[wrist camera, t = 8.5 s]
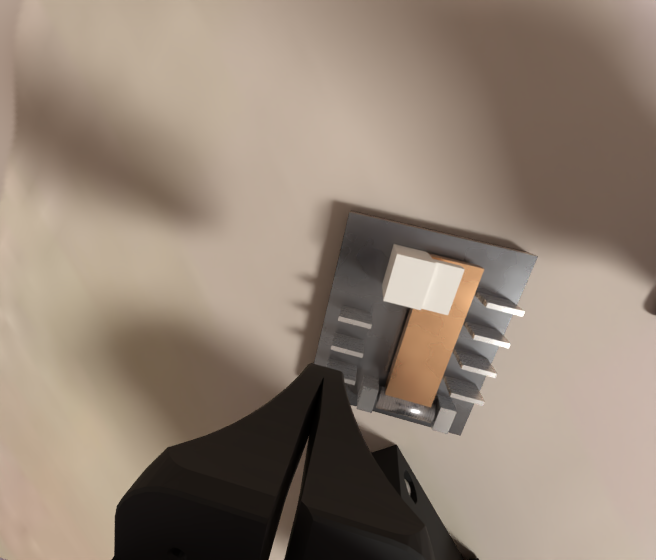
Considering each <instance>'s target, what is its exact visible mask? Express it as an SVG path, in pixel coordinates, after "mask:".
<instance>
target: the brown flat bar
mask: <svg viewBox="0 0 656 560" xmlns="http://www.w3.org/2000/svg"><path fill="white" fill-rule="evenodd" d="M428 254H429V255H430V256H431V257H432V259H436V260H440V261H444V262H448V263H452V264H456V265H460V266H462V267H463V268H464V269H465V270H464V273H463V276H462V278H461V281H460V284H459V287H458V289H457V292H456V295H455V298H454V300H453V303H452V306H451V309H450V311H449V314H448V315H444V314H441V313H437V312H433V311H429V310H425V309H421V310H417V309H413V308H410V310H409V313H408V316H407V319H406V323H405V326H404V329H403V332H402V335H401V338H400V341H399V344H398V347H397V350H396V353H395V357H394V360H393V363H392V366H391V369H390V372H389V375H388V378H387V381H386V384H385V387H382V386H380V387H379V391H378V394H377V397H376V402H375V407H376V408H379V409H382V410H386V411H389V412H393V413H396V414H400V415H404V416H407V417H411V418H414V419H418V420H421V421H425V422H429V423H431V422H432V421H433V419H434V416H435V410H436V406H435V402H434V398H435V396H436V393H437V390H438V388H439V385H440V383H441V380H442V377H443V375H444V372H445V370H446V367H447V365H448V362H449V359H450V357H451V354H452V352H453V349H454V346H455V344H456V341H457V339H458V336H459V333H460V331H461V328H462V326H463V323H464V321H465V318H466V315H467V313H468V310H469V308H470V305H471V302H472V300H473V297H474V295H475V292H476V290H477V287H478V284H479V282H480V279H481V277H482V274H483V271H484V268H482V267H481V266H480V265H476V264H471V263H467V262H463V261H459V260H455V259H451V258H446V257H442V256H438V255H434V254H430V253H428Z"/></svg>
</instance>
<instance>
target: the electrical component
mask: <svg viewBox="0 0 656 560" xmlns="http://www.w3.org/2000/svg"><path fill="white" fill-rule="evenodd" d="M371 454H372V456H373V457H374V459H375V461H376V462H377V464H378V466H379V467H380V469H381V470H382V472H383V473H384V475H385V476H386V478H387V479H388V481H389V482H390V483H391V485H392V486H393V487H394V489H395V490H396V491H397V493H398V494H399V495H400V497H401V498H402V499H403V500H404V501H405V502H406V504H407V505H408V506H409V507H410V508H411V509H412V510H413V512H414V513H415V514H416V515H417V516H418V517H419V518H420V520H421V521H422V522H423V523H424V524H425V526H426V528H427V531H428V535H429V538H430V542H431V545H432V549H433V552H434V556H435V560H464V559H463V557H462V556H461V554H460V552H459V550H458V549H457V547H456V545H455V544H454V542H453V540H452V538H451V537H450V535H449V533H448V532H447V530H446V528H445V526H444V525H443V523H442V521H441V520H440V518H439V516H438V514H437V513H436V511H435V509H434V508H433V506H432V504H431V502H430V501H429V499H428V497H427V496H426V494H425V492H424V491H423V489H422V487H421V485H420V484H419V482H418V480H417V479H416V477H415V475H414V473H413V472H412V470H411V468H410V467H409V465H408V463H407V461H406V460H405V458H404V456H403V455H402V453H401V451H400V449H399V448H398V446H397V445H394V446H391V447H388V448H385V449H382V450H379V451H376V452H373V453H371ZM472 560H479V559H478V558H477V559H472Z"/></svg>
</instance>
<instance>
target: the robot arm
mask: <svg viewBox="0 0 656 560" xmlns="http://www.w3.org/2000/svg"><path fill="white" fill-rule="evenodd" d="M308 437H309V440H308ZM307 440H308V446H307V453H306V459H305V465H304V472H303V478H302V484H301V490H300V496H299V501H298V506H297V510H296V514H295V518H294V522H293V526H292V530H291V534H290V539H289V543H288V547H287V551H286V555H285V559H284V560H435V556H434V552H433V549H432V545H431V542H430V538H429V535H428V531H427V528H426V526H425V524H424V523H423V522H422V521H421V520H420V518H419V517H418V516H417V515H416V514H415V513H414V512H413V510H412V509H411V508H410V507H409V506H408V505H407V504H406V502H405V501H404V500H403V499H402V498H401V497H400V495H399V494H398V493H397V491H396V490H395V489H394V487H393V486H392V485H391V483H390V482H389V481H388V479H387V478H386V476H385V475H384V473H383V472H382V470H381V469H380V467H379V466H378V464H377V462H376V461H375V459H374V457H373V456H372V454H371V452H370V450H369V448H368V446H367V444H366V442H365V440H364V438H363V436H362V434H361V432H360V430H359V427H358V425H357V422H356V420H355V417H354V414H353V412H352V409H351V405H350V402H349V399H348V395H347V391H346V387H345V382H344V374H343V373H342V371H339V370H335V369H331V368H328V367H324V366H320V365H317V364H313V363H311V364H309V365H308V366H307V367H306V368H305V370H304V371H303V372H302V373H301V374H300V375H299V376H298V377H297V378H296V379H295V380H294V381H293V382H292V383H291V384H290V385H289V386H288V387H287V388H286V389H284V390H283V391H282V392H281V393H280V394H278V395H277V396H276V397H274V398H273V399H272V400H271V401H269V402H268V403H267V404H265V405H264V406H262V407H261V408H259V409H258V410H256V411H255V412H253V413H251V414H250V415H248V416H246V417H244V418H243V419H241V420H239V421H237V422H235V423H233V424H231V425H229V426H227V427H225V428H223V429H220V430H218V431H216V432H213V433H211V434H208V435H206V436H203V437H200V438H197V439H194V440H191V441H188V442H184V443H181V444H178V445H174V446H171V447H168V448H167V449H166V450H165V451H164V452H163V453H162V454H161V455H159V456H158V457H157V458H156V459H155V460H154V461H153V462H152V463H151V464H150V465H149V466H148V467H147V468H146V469H145V471H144V472H143V473H142V474H141V475H140V477H139V478H138V479H137V480H136V481H135V483H134V484H133V485H132V486H131V488H130V489H129V490H128V491H127V493H126V494H125V495H124V496H123V498H122V499H121V501H120V502H119V504H118V505H117V509H116V514H115V551H114V557H113V559H112V560H269V556H270V552H271V549H272V545H273V542H274V538H275V535H276V531H277V527H278V524H279V520H280V517H281V513H282V510H283V506H284V503H285V499H286V496H287V493H288V490H289V488H290V485H291V482H292V480H293V477H294V474H295V472H296V469H297V466H298V464H299V461H300V458H301V456H302V453H303V450H304V448H305V445H306V442H307ZM0 560H6V559H3V558H0Z"/></svg>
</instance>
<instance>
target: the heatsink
mask: <svg viewBox="0 0 656 560" xmlns="http://www.w3.org/2000/svg"><path fill="white" fill-rule="evenodd" d="M394 244H396V245H400V246H404V247H409V248H413V249H417V250H421V251H425V252H427V253H430V254H434V255H438V256H442V257H446V258H451V259H455V260H459V261H463V262H467V263H471V264H476V265H480V266H481V267H482V268H484V271H483V274H482V277H481V279H480V282H479V284H478V287H477V290H476V292H475V295H474V297H473V300H472V302H471V305H470V308H469V310H468V313H467V315H466V318H465V321H464V323H463V326H462V328H461V331H460V333H459V336H458V339H457V341H456V344H455V346H454V349H453V352H452V354H451V357H450V359H449V362H448V365H447V367H446V370H445V372H444V375H443V377H442V380H441V383H440V385H439V388H438V390H437V393H436V396H435V398H434V402H435V406H436V410H435V416H434V419H433V421H432V422H431V423H429V422H425V421H421V420H418V419H414V418H411V417H407V416H404V415H400V414H396V413H393V412H389V411H386V410H382V409H379V408H376V407H375V402H376V397H377V394H378V391H379V387H380V386H382V387H385V384H386V381H387V378H388V375H389V372H390V369H391V366H392V363H393V360H394V357H395V353H396V350H397V347H398V344H399V341H400V338H401V335H402V332H403V329H404V326H405V323H406V319H407V316H408V313H409V310H410V307H406V306H402V305H398V304H394V303H390V302H386V301H383V289H382V283H383V280H384V276H385V273H386V269H387V266H388V262H389V259H390V255H391V252H392V248H393V245H394ZM537 257H538V256H535V255H533V254H531V253H528V252H524V251H520V250H516V249H511V248H507V247H503V246H499V245H494V244H490V243H486V242H481V241H477V240H473V239H469V238H464V237H460V236H456V235H452V234H447V233H443V232H439V231H435V230H430V229H426V228H422V227H418V226H413V225H409V224H405V223H401V222H396V221H392V220H388V219H384V218H379V217H375V216H371V215H367V214H362V213H358V212H354V211H350V212H349V216H348V221H347V225H346V229H345V233H344V238H343V242H342V246H341V250H340V255H339V259H338V263H337V268H336V272H335V276H334V280H333V285H332V289H331V293H330V297H329V302H328V306H327V310H326V315H325V319H324V323H323V327H322V332H321V336H320V340H319V344H318V349H317V353H316V357H315V362H314V364H317V365H320V366H324V367H328V368H331V369H335V370H339V371H342V373H343V374H344V382H345V387H346V391H347V395H348V399H349V402H350V405H353V406H357V409H359V410H363V411H367V412H370V413H372V411H375V412H378V413H382V414H386V415H389V416H393V417H396V418H400V419H403V420H407V421H410V422H414V423H418V424H421V425H425V426H428V427H431V428H432V430H434V431H438V432H441V433H445V434H448V432H450V433H453V434H457V435H461V433H462V431H463V428H464V426H465V424H466V421H467V419H468V417H469V414H470V412H471V410H472V407H473V405H474V404H478V405H481V406H483V405H484V403H485V401H484V399H483V397H482V395H481V393H480V389H481V387H482V384H483V382H484V380H485V377H486V376H489V377H493V378H496V376H497V373H496V371H495V369H494V368H493V366H492V365H491V364H492V361H493V359H494V357H495V354H496V352H497V350H498V347H499V346H501V347H505V348H509V347H510V342H509V341H508V340H507V339H506V338H505V337H504V334H505V331H506V329H507V327H508V324H509V322H510V320H511V317H512V315H513V314H514V315H518V316H522V317H523V315H524V313H525V311H523V310H522V309H521V308H520V307H519V306H517V304H518V301H519V299H520V297H521V294H522V292H523V290H524V287H525V285H526V283H527V281H528V278H529V276H530V274H531V271H532V269H533V267H534V264H535V262H536V260H537Z"/></svg>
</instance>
